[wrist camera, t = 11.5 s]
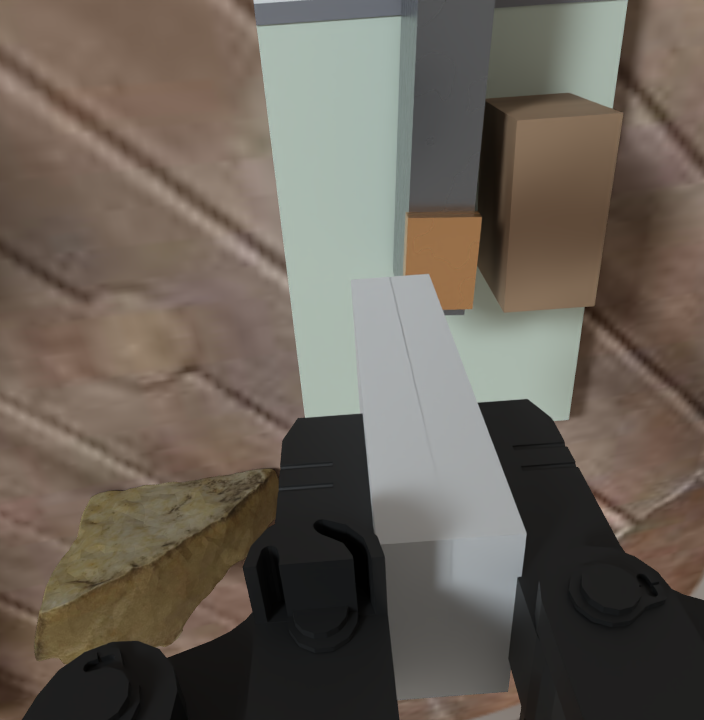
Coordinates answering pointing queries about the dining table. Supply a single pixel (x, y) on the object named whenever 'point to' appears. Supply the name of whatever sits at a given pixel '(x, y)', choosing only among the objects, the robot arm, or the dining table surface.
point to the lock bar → (441, 143)
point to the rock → (150, 560)
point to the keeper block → (545, 198)
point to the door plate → (378, 179)
